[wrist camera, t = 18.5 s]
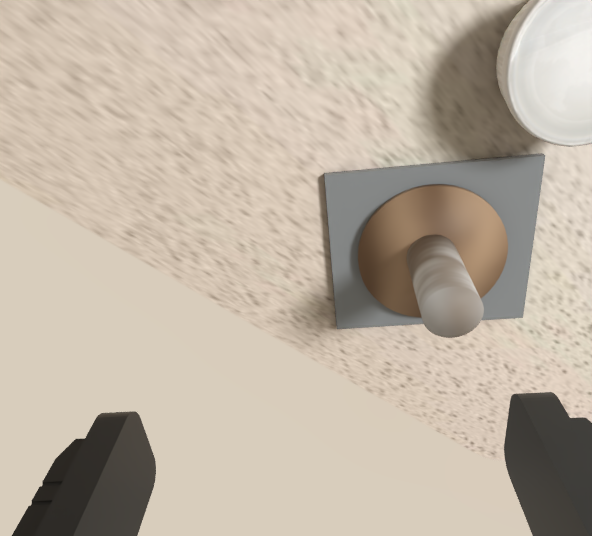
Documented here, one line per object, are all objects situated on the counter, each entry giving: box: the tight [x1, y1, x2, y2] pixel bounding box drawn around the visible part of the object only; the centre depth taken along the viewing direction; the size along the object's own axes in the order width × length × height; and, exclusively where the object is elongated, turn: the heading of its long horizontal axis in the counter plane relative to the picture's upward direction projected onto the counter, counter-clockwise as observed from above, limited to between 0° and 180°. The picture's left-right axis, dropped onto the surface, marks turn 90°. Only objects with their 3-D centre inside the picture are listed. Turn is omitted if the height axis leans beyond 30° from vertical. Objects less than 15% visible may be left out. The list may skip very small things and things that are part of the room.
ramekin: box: [496, 0, 592, 147], centre depth 35 cm, size 11×11×5 cm
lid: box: [358, 184, 508, 338], centre depth 40 cm, size 13×13×10 cm
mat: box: [324, 154, 545, 329], centre depth 45 cm, size 18×16×1 cm
